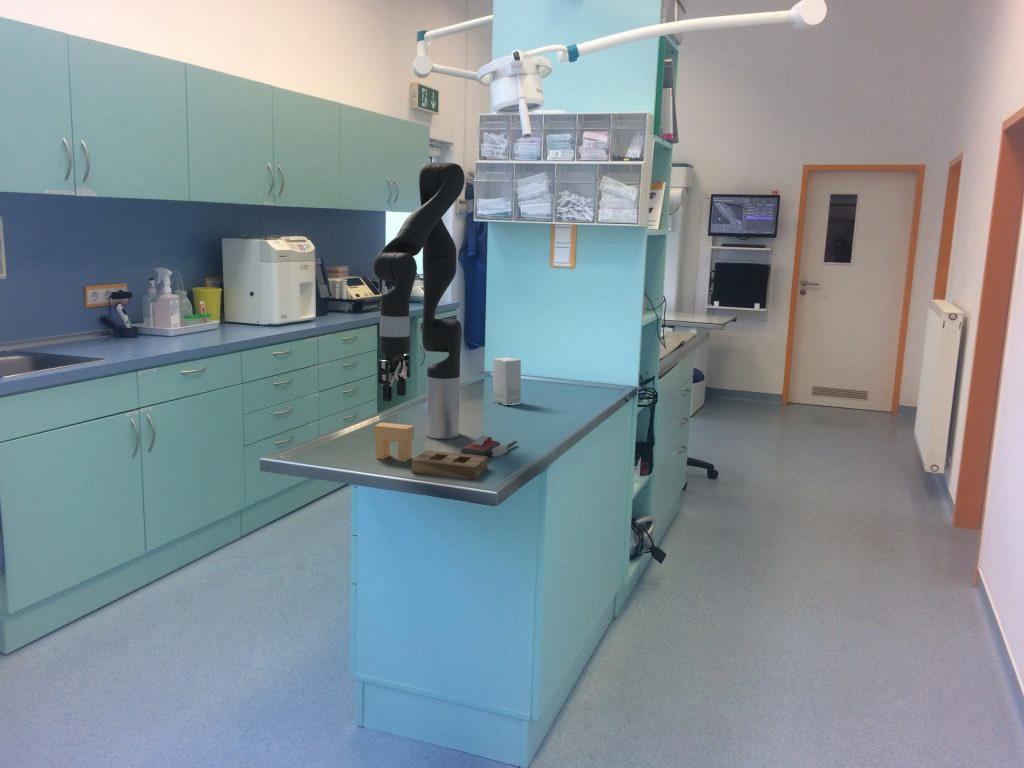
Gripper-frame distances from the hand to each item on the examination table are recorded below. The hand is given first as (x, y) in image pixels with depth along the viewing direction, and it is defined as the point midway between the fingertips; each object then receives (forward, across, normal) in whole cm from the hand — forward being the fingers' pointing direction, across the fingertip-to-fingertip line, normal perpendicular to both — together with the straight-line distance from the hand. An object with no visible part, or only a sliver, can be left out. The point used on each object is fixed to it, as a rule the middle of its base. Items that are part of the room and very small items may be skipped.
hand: (394, 398), depth 204 cm
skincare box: (+15, +78, -7) cm, 80 cm away
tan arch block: (+16, 0, 0) cm, 16 cm away
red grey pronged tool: (+16, +15, -21) cm, 30 cm away
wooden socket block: (+16, -5, -17) cm, 23 cm away
